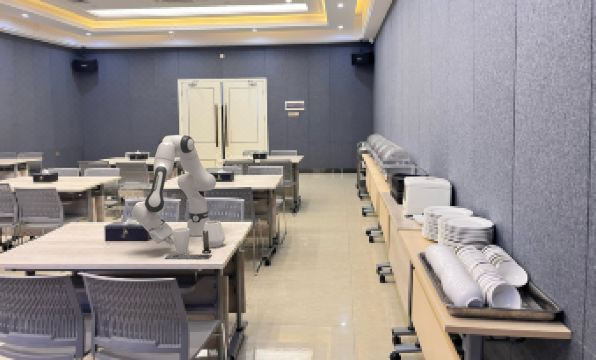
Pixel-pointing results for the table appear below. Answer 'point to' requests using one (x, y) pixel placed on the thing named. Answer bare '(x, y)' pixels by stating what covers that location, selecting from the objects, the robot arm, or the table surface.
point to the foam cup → (181, 240)
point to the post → (206, 243)
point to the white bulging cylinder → (214, 233)
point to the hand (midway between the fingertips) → (172, 243)
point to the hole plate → (187, 256)
